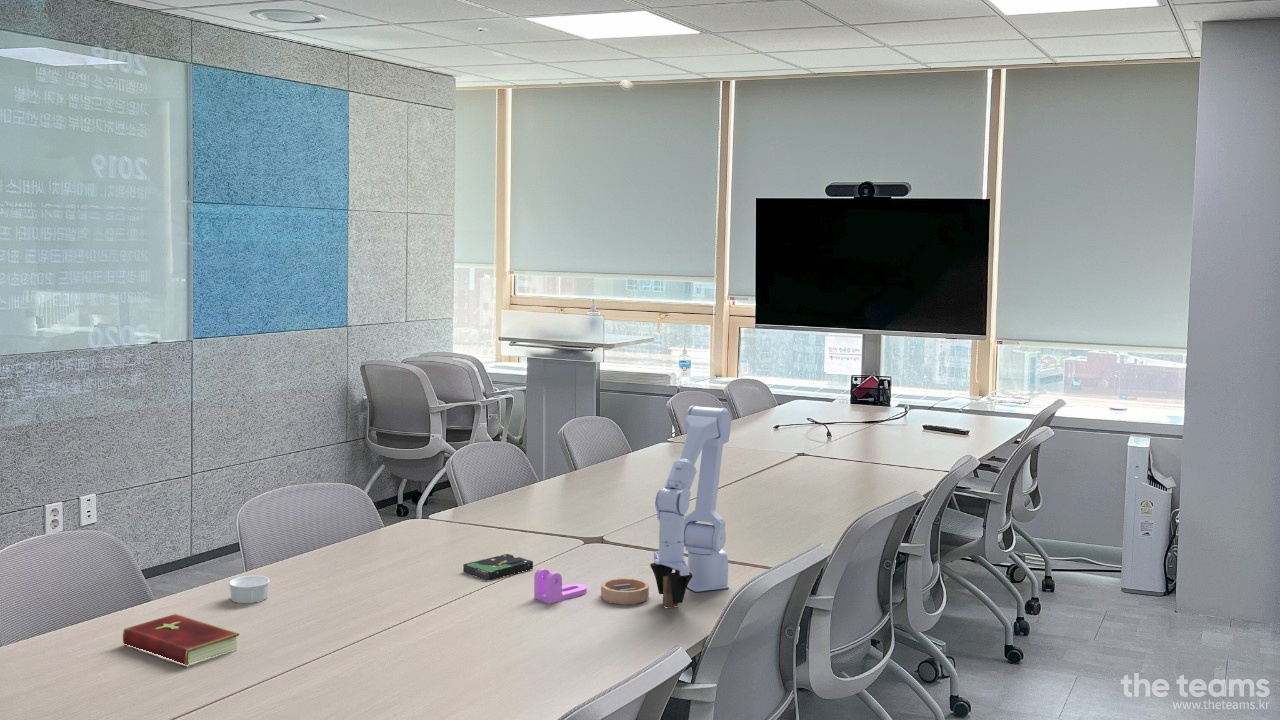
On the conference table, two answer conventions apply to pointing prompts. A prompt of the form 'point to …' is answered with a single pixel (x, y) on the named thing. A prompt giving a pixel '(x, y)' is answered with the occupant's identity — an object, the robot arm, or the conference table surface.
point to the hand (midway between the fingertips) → (670, 598)
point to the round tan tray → (624, 591)
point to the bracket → (554, 587)
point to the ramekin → (249, 589)
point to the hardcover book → (180, 638)
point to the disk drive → (497, 566)
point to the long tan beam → (667, 593)
